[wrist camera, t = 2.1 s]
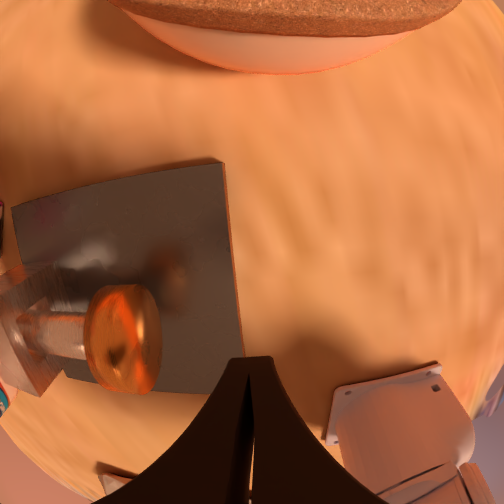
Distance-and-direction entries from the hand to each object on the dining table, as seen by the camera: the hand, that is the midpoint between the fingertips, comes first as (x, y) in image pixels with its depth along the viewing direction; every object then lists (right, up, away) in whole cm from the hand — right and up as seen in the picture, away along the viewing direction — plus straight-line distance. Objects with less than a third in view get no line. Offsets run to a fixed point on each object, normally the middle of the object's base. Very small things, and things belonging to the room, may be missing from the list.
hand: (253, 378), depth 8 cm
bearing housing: (-8, +1, +7) cm, 11 cm away
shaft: (-9, +1, +5) cm, 11 cm away
